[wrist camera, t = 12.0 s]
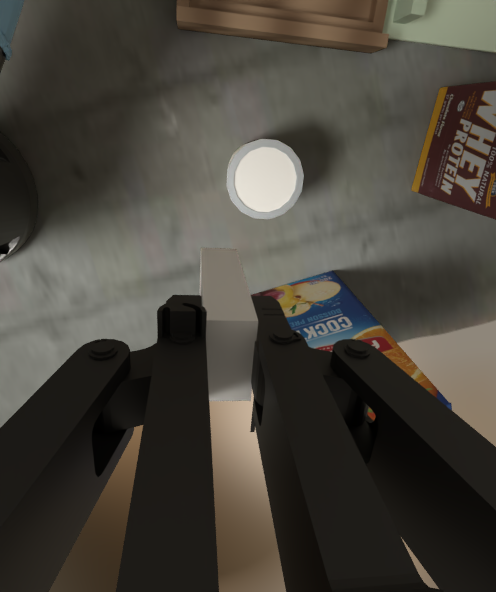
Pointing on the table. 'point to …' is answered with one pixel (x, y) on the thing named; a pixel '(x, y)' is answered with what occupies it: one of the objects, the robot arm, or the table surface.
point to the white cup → (264, 178)
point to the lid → (443, 23)
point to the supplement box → (461, 149)
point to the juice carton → (340, 321)
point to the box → (292, 21)
